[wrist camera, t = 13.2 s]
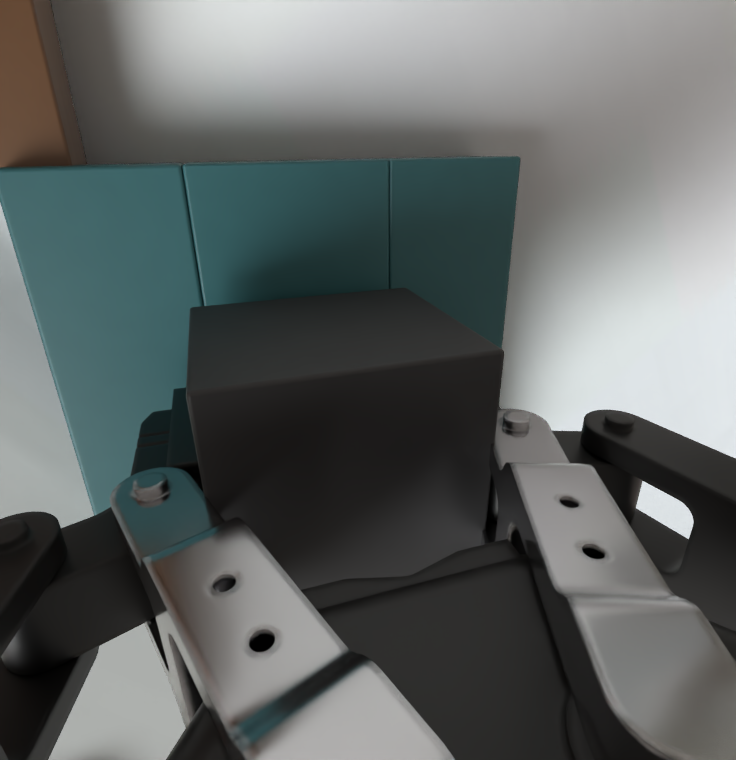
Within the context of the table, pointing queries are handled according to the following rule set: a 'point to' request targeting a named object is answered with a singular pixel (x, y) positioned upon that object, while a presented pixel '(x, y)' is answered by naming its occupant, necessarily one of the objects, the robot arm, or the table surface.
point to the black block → (345, 429)
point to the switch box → (35, 90)
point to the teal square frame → (234, 263)
